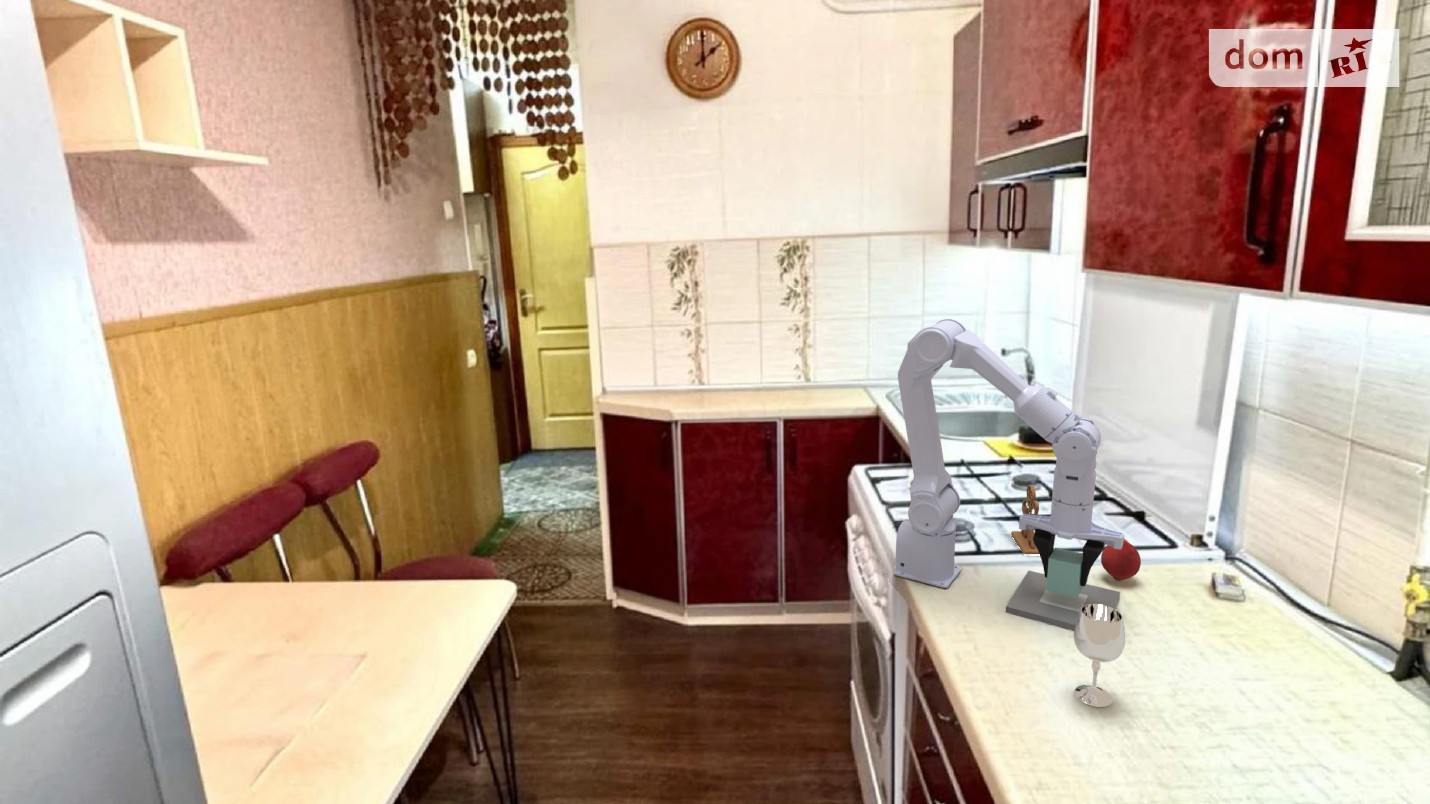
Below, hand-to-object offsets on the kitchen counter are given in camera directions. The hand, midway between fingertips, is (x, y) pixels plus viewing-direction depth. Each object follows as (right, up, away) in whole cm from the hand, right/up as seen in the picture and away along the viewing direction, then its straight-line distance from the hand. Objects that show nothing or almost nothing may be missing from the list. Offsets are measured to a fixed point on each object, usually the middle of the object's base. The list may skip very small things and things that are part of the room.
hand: (1065, 579), depth 116 cm
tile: (0, -4, +1) cm, 4 cm away
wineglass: (-6, -10, -21) cm, 24 cm away
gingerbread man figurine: (+3, +1, +22) cm, 22 cm away
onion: (+13, -2, +8) cm, 15 cm away
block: (0, -1, 0) cm, 2 cm away
